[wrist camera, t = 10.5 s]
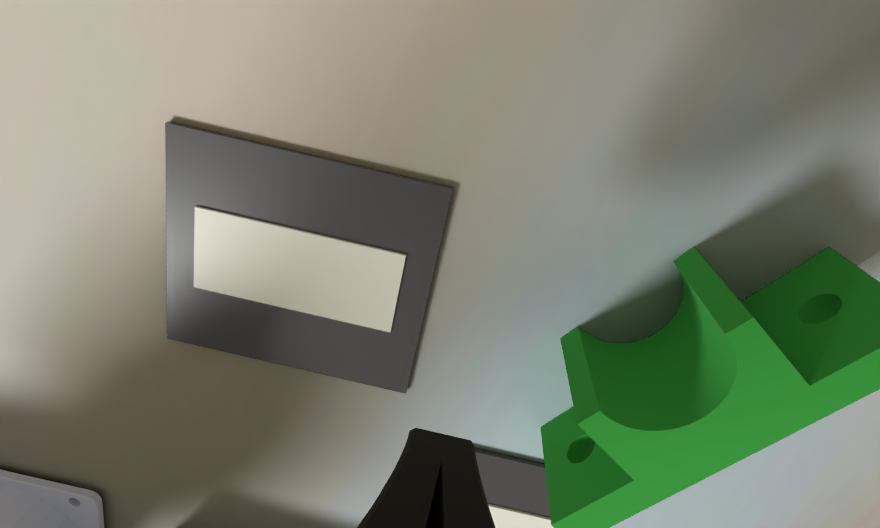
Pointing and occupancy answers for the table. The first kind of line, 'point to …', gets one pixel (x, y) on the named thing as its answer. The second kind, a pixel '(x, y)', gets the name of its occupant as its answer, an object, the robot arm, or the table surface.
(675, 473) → the pipe clamp
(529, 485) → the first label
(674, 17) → the table surface
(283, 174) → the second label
